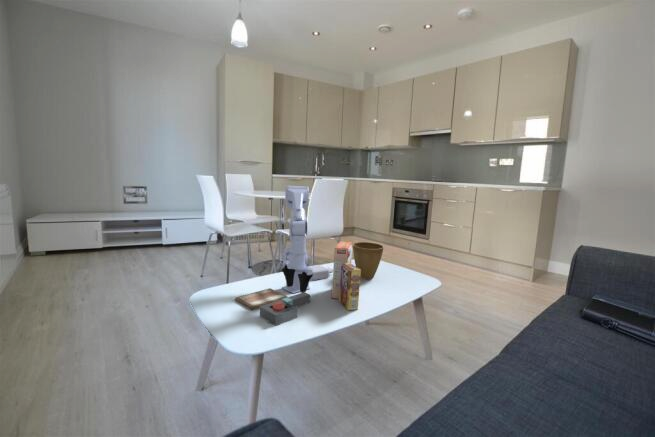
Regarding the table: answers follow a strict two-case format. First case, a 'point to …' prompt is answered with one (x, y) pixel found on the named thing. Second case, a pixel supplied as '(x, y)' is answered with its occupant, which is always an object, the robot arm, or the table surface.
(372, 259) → the plant pot
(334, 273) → the cracker box
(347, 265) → the candy box
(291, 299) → the marker
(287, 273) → the robot arm
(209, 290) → the table surface
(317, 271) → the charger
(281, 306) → the button
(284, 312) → the button housing
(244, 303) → the wooden picture frame
